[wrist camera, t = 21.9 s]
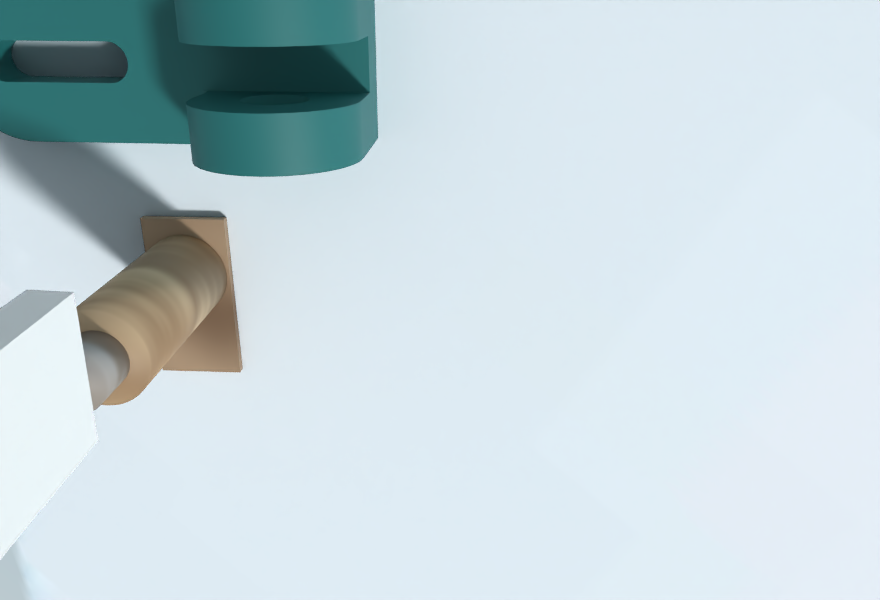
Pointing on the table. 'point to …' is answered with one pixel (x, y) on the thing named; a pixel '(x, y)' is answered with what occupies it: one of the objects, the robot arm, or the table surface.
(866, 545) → the table surface
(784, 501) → the table surface
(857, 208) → the table surface
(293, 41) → the bracket
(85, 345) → the tan cylinder gray tip
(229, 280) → the wooden slat
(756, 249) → the table surface
